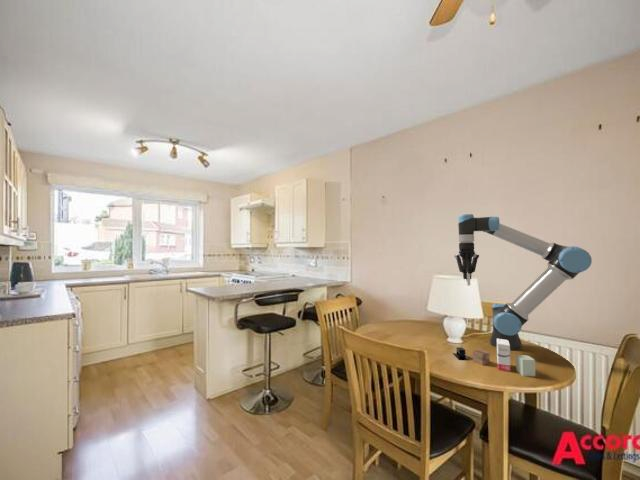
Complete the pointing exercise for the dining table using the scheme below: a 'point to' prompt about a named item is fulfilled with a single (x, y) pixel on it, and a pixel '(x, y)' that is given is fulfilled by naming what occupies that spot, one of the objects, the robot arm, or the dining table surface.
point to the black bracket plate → (461, 354)
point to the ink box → (503, 355)
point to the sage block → (525, 365)
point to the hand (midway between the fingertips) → (467, 285)
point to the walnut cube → (481, 357)
